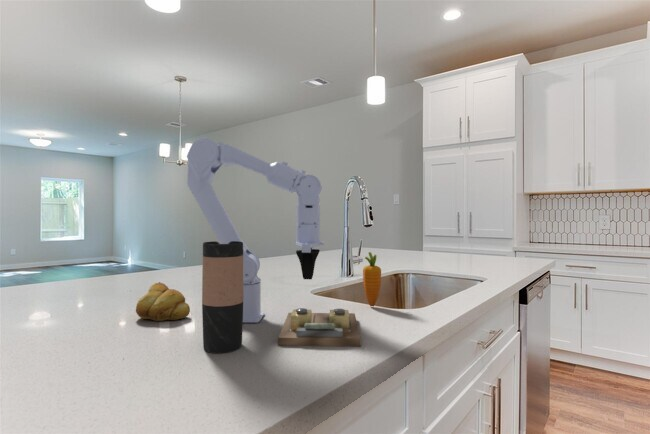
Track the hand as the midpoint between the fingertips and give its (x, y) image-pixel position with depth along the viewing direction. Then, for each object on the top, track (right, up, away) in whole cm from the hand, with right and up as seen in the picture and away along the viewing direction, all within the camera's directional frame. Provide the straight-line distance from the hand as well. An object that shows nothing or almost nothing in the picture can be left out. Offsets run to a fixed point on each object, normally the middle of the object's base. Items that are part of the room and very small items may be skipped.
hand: (307, 278), depth 92 cm
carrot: (+17, -10, +10) cm, 22 cm away
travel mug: (-15, -10, -21) cm, 28 cm away
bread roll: (-35, -10, -2) cm, 36 cm away
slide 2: (+7, -8, -13) cm, 17 cm away
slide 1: (-1, -8, -13) cm, 15 cm away
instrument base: (+3, -10, -11) cm, 15 cm away
